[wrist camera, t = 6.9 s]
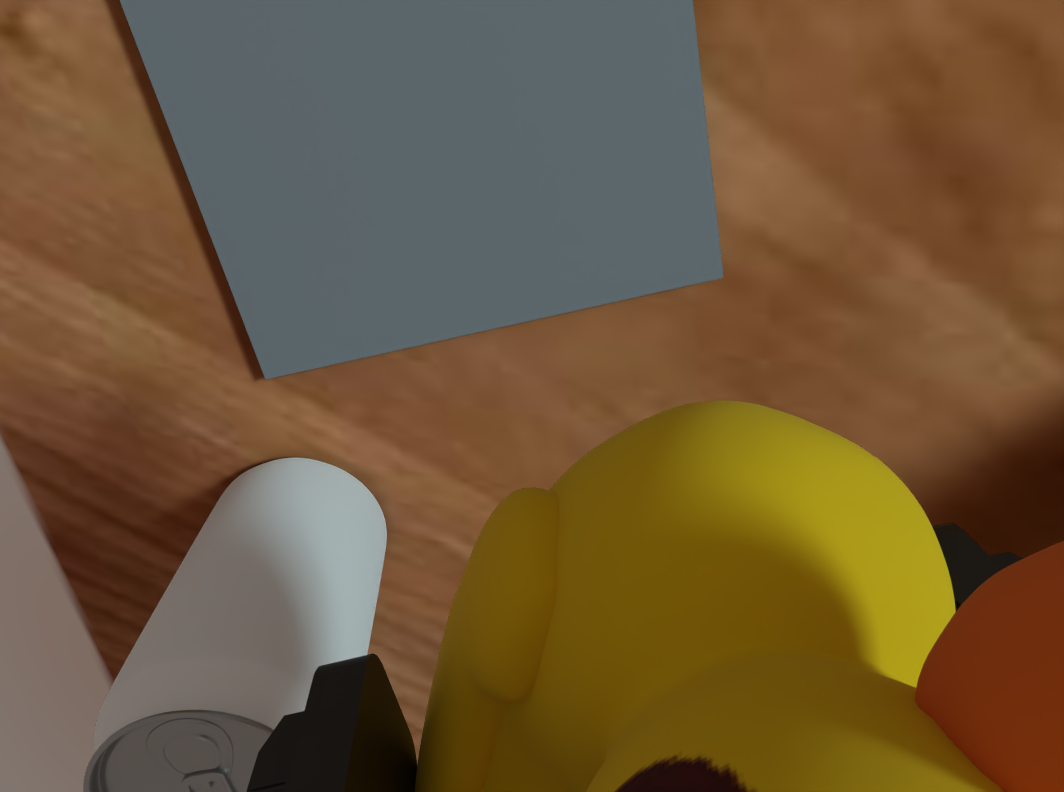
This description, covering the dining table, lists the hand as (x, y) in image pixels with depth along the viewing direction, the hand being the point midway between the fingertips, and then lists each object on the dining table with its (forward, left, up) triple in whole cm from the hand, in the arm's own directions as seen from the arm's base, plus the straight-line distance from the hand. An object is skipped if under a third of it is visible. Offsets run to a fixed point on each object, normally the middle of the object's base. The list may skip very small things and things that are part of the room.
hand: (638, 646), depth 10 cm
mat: (+8, +2, -18) cm, 20 cm away
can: (-7, +11, -18) cm, 22 cm away
